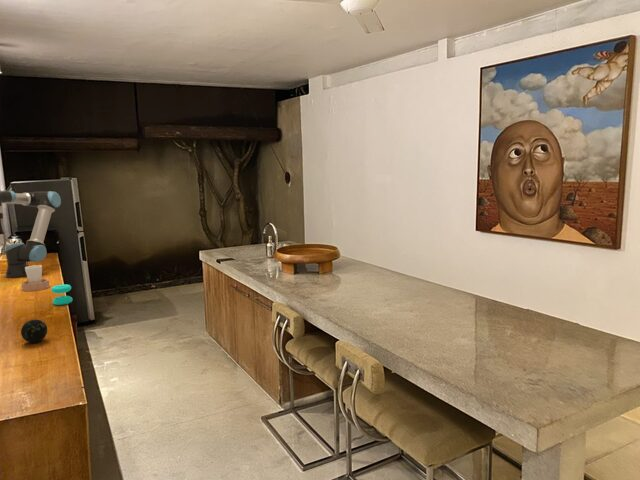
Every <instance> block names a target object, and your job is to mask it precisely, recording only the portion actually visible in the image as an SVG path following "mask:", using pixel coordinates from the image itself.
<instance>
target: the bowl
mask: <svg viewBox="0 0 640 480" xmlns="http://www.w3.org/2000/svg"><path fill="white" fill-rule="evenodd" d="M49 288H50V278H49V279H48V278H42V282H41V283H34V284H29V282H28V280H25V281H22V282H21V290H22V292H38V291H42V290H43V291H44V290H46V289H49Z"/></svg>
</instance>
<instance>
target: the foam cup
mask: <svg viewBox="0 0 640 480" xmlns="http://www.w3.org/2000/svg"><path fill="white" fill-rule="evenodd" d="M27 266H28V267H25V272H26V274H27V276H26V278H27V281H28V282H29V284H34V283H41V282H42V279H43V277H42V276H43V273H42V272H43V265H41V264H38V265H27Z"/></svg>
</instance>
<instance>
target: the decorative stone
mask: <svg viewBox="0 0 640 480" xmlns="http://www.w3.org/2000/svg"><path fill="white" fill-rule="evenodd" d="M47 334H48V326H47V324H46V323H45V321H43V320H40V319H30V320H27V321H26V322H25V323H24V324H23V325H22V327H21V329H20V335H21V337H22V339H24V341H26V342H28V343H31V344H33V343H34V344H35V343H39V342H41V341H43V340H44V339H45V337H46V336H47Z"/></svg>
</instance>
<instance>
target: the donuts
mask: <svg viewBox="0 0 640 480" xmlns="http://www.w3.org/2000/svg"><path fill="white" fill-rule="evenodd" d="M71 290H72V286H71V285H70V284H57V285H54V286H52V287H51V290H50V291H51V292H52V293H53V294H65V293H68V292H70V291H71ZM73 300H74V299H73V297H72V296H70V295H61V296H56V297H55V298H54V299H52V303H53V305H56V306H65V305H69V304H72V303H73Z"/></svg>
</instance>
